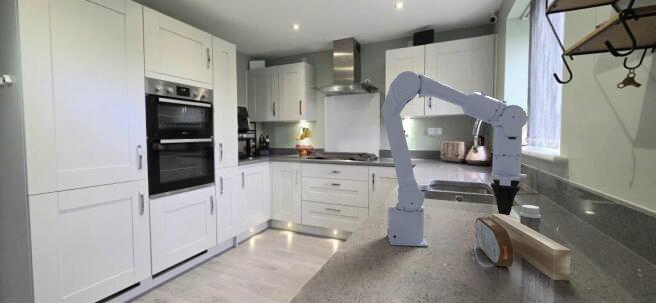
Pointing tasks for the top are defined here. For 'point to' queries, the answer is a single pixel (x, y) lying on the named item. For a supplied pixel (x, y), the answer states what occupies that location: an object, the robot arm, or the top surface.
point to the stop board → (537, 248)
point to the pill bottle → (531, 217)
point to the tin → (494, 241)
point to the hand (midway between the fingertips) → (504, 210)
